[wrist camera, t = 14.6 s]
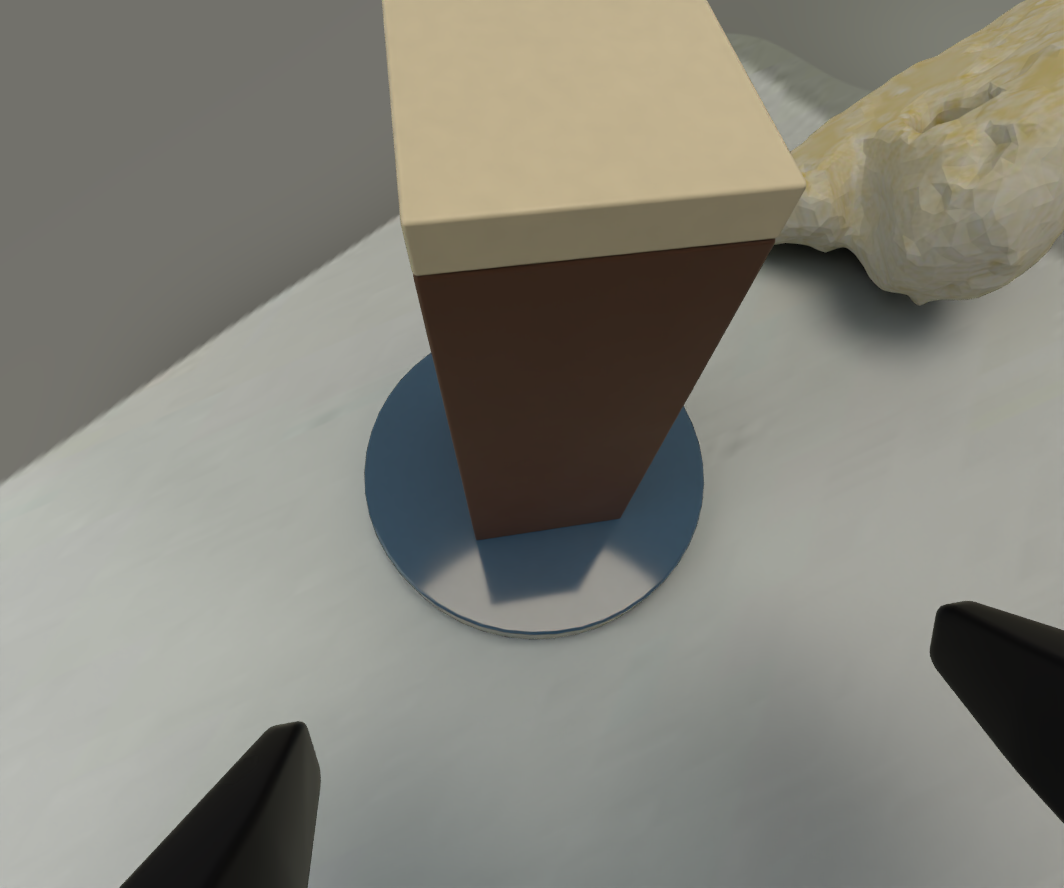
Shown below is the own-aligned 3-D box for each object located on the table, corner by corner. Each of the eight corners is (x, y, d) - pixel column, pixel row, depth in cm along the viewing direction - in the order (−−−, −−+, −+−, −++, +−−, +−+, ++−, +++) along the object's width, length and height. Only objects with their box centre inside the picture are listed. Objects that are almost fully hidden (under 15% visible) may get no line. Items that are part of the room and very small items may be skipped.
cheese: (778, 412, 22) (1399, 262, 14) (711, 258, 19) (1486, -69, 10) (775, 249, 33) (1129, 106, 24) (731, 130, 29) (1127, -86, 21)
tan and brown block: (620, 518, 17) (810, 183, 6) (475, 541, 16) (399, 222, 6) (587, 382, 19) (683, -47, 8) (458, 399, 19) (378, -31, 8)
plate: (598, 716, 16) (605, 717, 14) (303, 519, 18) (289, 507, 17) (742, 426, 20) (755, 411, 19) (488, 297, 22) (487, 276, 21)
